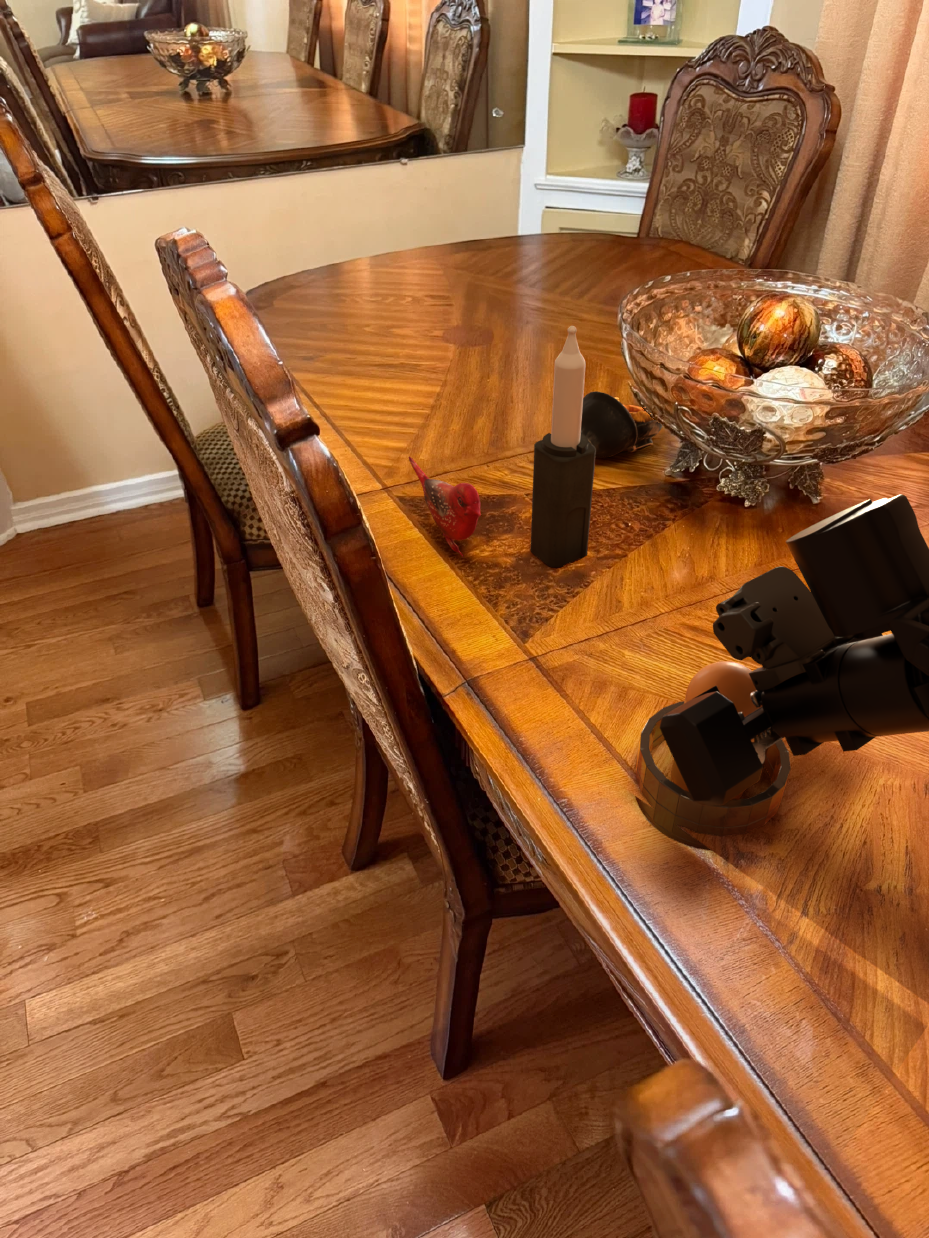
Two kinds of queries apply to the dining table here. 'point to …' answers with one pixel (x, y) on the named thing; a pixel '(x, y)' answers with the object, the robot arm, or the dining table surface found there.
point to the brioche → (731, 685)
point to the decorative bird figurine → (451, 506)
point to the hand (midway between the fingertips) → (706, 715)
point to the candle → (563, 468)
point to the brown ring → (681, 810)
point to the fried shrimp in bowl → (616, 425)
